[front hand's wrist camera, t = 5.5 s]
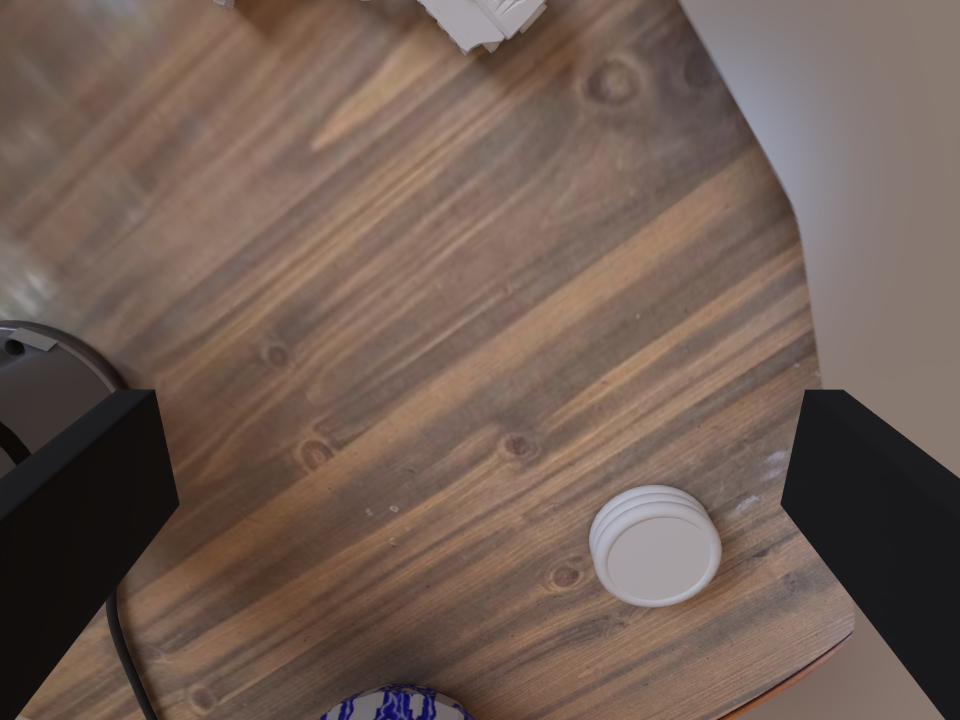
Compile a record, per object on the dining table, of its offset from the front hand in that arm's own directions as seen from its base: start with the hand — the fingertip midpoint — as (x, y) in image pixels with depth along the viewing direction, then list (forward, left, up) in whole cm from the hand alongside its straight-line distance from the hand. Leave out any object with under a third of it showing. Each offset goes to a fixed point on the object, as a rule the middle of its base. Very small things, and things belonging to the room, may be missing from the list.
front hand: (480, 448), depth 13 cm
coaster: (-30, +1, -31) cm, 43 cm away
